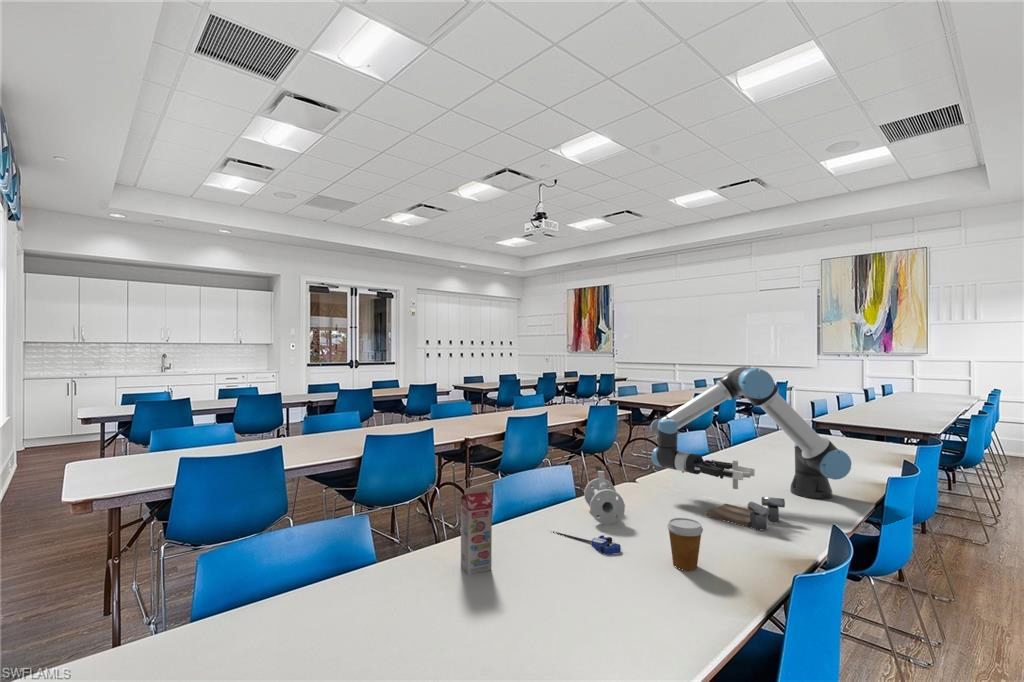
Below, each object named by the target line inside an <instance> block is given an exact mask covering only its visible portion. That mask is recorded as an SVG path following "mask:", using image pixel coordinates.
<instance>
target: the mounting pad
mask: <svg viewBox="0 0 1024 682" xmlns="http://www.w3.org/2000/svg"><path fill="white" fill-rule="evenodd" d="M750 512H753V511H751V510H749V509H748V508H745V507H742V506H737V505H733V504H730V503H724V504H721V505H718V506H716V507H714V508H712V509H709V510H706V512H705V516H706V517H708V516H709V518H712V517H713V518H712V519H717V520H719V519H720V521H723V520H725V521H724V522H727V521H729V522H728V523H731V522H733V523H732V524H734V523H736V524H735V525H738V524H740V525H739V526H742V525H744V526H743V527H745V526H749V527H750Z"/></svg>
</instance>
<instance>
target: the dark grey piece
mask: <svg viewBox="0 0 1024 682" xmlns="http://www.w3.org/2000/svg"><path fill="white" fill-rule="evenodd" d="M747 509H749V510H751V511H753V512H750V526H749V528H751V527H752V528H751V529H753V528H754V529H756V530H755V531H761V530H760V529H767V528H768V527H767V524H768V523H767V520H768V518H767V516H768V515H769V510H768V509H767V507H766V506H762V504H759V503H756V502H754V501H749V502H748V503H747ZM754 529H753V530H754Z"/></svg>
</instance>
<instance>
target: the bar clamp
mask: <svg viewBox="0 0 1024 682" xmlns="http://www.w3.org/2000/svg"><path fill="white" fill-rule="evenodd" d="M554 532H556V533H557V534H556V535H559V534H560V536H562V535H564V536H563V537H566V536H567V538H570V539H575V540H579V541H582V542H585V543H590V545H592V546H593V547H594V548H593V547H592V546H591V547H592V548H593V549H595V550H596V551H597V552H598V551H599V553H600V552H601V554H603V553H605V554H604V555H614V554H613V553H618V554H619V553H621V551H622V550H621V549H622V548H621V544H620V543H616V542H614V543H613V537H610V536H607V537H605V535H603V534H602V535H598V537H593V538H592V539H591V540H589V539H587V538H586V539H585V538H581V537H578V536H573V535H569V534H566V533H561V532H558V531H553V534H555V533H554Z"/></svg>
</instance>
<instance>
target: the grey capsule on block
mask: <svg viewBox="0 0 1024 682" xmlns="http://www.w3.org/2000/svg"><path fill="white" fill-rule="evenodd" d="M785 503H786V502H785V498H778V497H769V496H761V506H763V507H766V508H767V509H768V510H769V515H768V516H767V520H768V522H769V523H775V522H778V523H777V524H779V523H780V522H779V521H780V518H779V517H780V515H779V514H780V510H779V508H785V507H786V504H785Z"/></svg>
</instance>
